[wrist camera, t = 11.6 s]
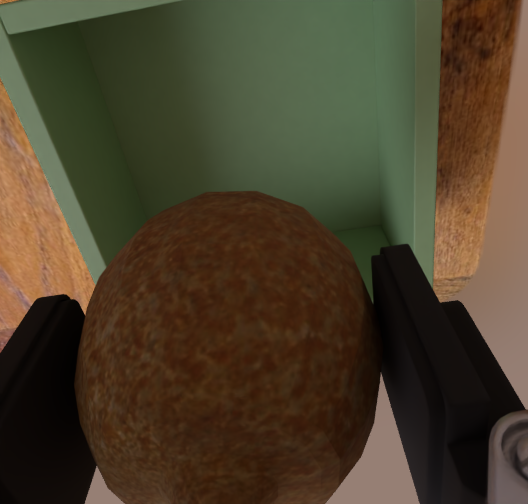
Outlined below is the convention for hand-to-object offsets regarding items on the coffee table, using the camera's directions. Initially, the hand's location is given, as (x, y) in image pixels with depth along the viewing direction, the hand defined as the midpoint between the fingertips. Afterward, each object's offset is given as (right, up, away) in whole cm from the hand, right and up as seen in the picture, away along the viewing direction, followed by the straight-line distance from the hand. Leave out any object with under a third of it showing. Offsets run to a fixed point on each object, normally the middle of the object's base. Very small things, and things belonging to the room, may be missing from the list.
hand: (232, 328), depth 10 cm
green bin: (0, +8, +12) cm, 14 cm away
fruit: (0, +2, +3) cm, 4 cm away
